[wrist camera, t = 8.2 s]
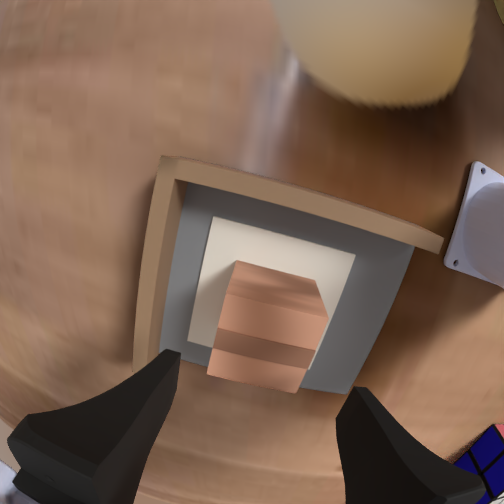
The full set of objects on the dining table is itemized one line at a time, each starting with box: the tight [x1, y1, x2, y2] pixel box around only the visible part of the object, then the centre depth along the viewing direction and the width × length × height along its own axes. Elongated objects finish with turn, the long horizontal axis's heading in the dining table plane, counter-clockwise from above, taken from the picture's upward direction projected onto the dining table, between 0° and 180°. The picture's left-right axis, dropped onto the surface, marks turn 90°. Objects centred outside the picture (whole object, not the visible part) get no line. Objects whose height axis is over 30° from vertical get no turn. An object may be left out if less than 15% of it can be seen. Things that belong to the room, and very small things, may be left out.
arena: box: [132, 156, 444, 394], centre depth 18 cm, size 16×14×4 cm
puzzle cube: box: [453, 424, 504, 504], centre depth 21 cm, size 10×10×10 cm
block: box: [207, 260, 329, 393], centre depth 17 cm, size 5×5×5 cm
